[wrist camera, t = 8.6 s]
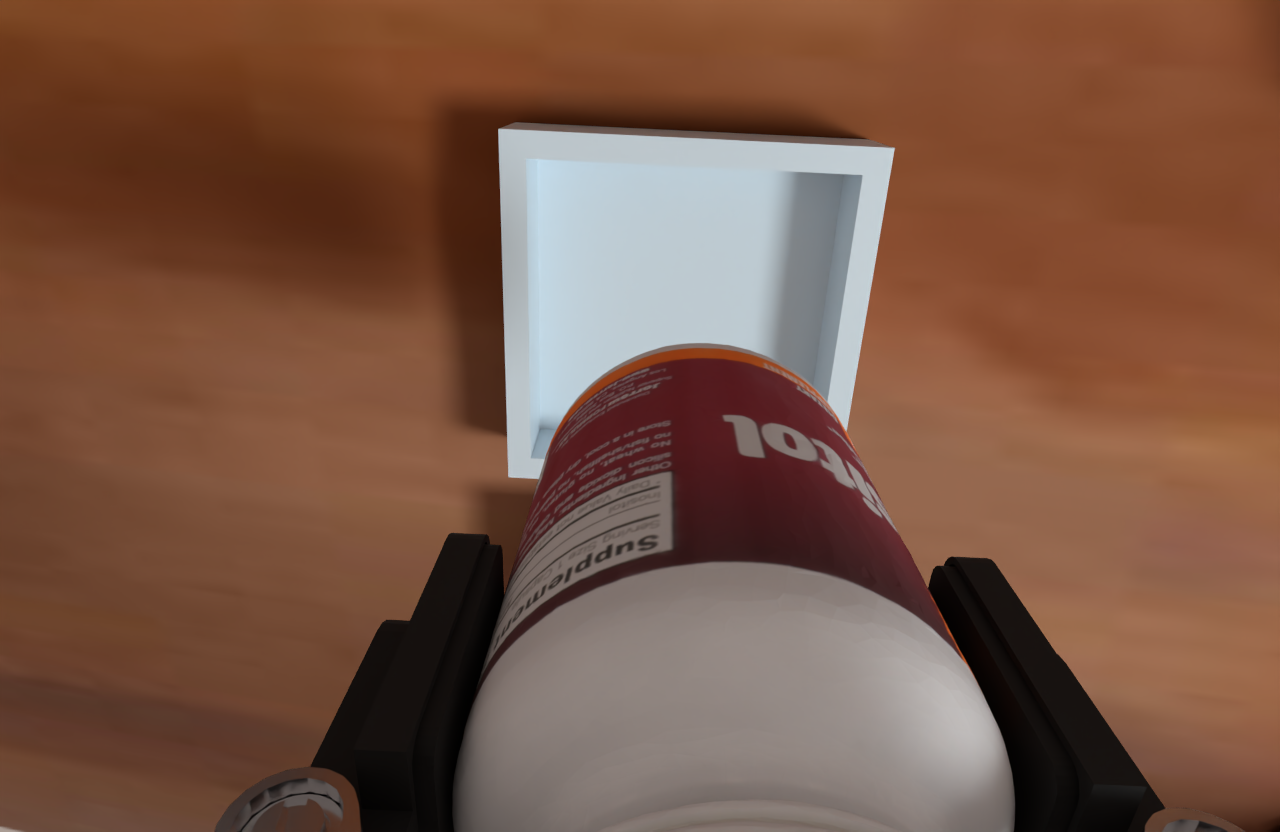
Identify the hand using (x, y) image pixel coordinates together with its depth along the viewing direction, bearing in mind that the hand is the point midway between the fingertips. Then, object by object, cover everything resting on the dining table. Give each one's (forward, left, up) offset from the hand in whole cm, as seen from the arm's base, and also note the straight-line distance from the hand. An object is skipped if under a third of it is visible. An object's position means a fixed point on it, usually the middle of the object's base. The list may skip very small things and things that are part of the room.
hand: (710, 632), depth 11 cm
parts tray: (0, 0, -18) cm, 18 cm away
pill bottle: (0, 0, -5) cm, 5 cm away
